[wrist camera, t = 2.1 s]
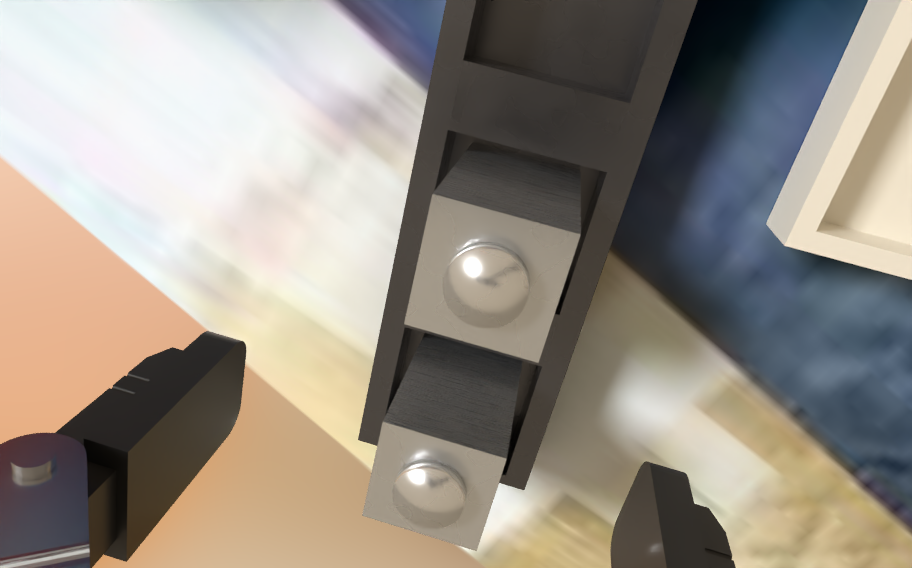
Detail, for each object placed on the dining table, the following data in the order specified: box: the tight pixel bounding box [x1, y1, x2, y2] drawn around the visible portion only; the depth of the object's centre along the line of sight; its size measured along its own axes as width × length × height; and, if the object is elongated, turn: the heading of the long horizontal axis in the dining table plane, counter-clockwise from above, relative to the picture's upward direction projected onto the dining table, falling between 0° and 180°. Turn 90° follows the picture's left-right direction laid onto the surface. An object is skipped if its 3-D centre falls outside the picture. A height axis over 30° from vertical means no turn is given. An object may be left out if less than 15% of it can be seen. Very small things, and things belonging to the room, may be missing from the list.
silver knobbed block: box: [404, 142, 581, 363], centre depth 23 cm, size 4×4×9 cm
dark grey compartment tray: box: [358, 0, 698, 490], centre depth 26 cm, size 8×24×3 cm, turn 167°
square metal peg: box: [363, 333, 523, 551], centre depth 27 cm, size 4×4×9 cm
